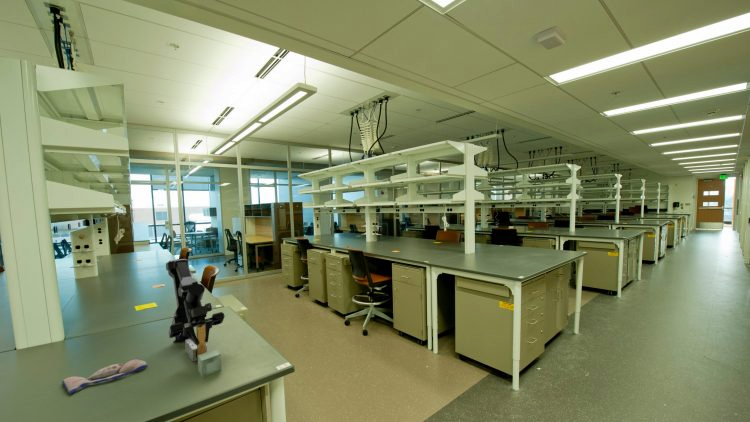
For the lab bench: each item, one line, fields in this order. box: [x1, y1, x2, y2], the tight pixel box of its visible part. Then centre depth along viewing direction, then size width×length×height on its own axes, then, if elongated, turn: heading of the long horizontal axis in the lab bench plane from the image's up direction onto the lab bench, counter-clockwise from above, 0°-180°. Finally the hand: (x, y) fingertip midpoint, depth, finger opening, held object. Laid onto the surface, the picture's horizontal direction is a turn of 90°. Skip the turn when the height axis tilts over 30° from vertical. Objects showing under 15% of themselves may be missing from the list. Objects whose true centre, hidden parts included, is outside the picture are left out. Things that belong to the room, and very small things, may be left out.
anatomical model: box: [61, 358, 148, 394], centre depth 102 cm, size 20×3×15 cm
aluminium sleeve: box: [184, 339, 208, 362], centre depth 116 cm, size 12×5×5 cm, turn 46°
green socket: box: [197, 349, 222, 378], centre depth 103 cm, size 6×6×6 cm
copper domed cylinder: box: [195, 325, 207, 361], centre depth 112 cm, size 20×3×13 cm, turn 46°
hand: (202, 343), depth 109 cm, fingers closed on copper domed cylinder, 3 cm apart
